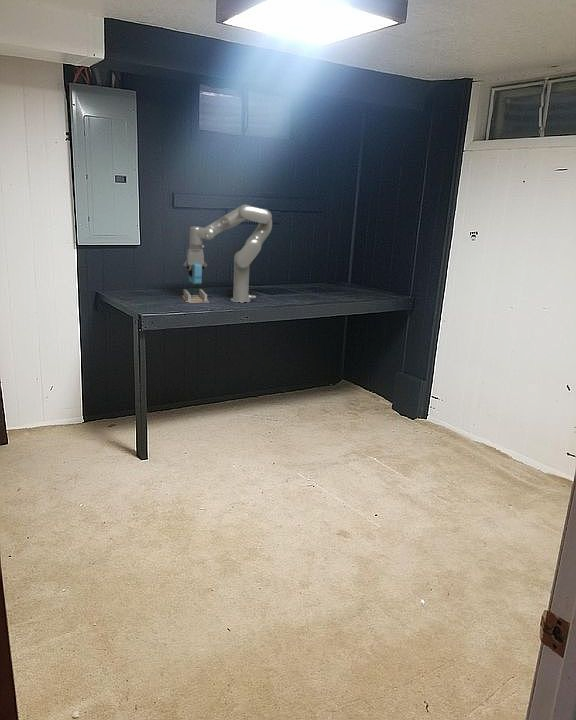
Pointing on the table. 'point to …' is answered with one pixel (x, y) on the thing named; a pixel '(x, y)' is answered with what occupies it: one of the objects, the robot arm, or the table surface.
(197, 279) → the data package
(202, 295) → the bay
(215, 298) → the table surface
